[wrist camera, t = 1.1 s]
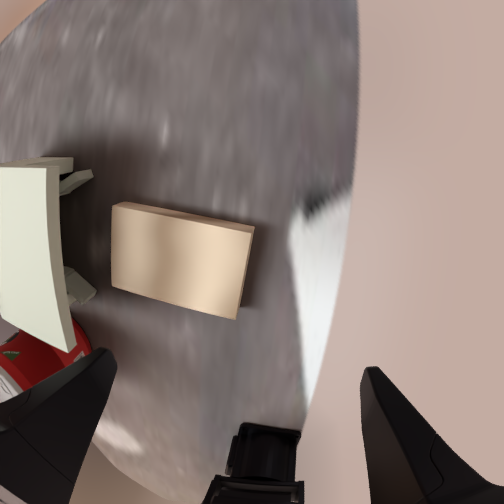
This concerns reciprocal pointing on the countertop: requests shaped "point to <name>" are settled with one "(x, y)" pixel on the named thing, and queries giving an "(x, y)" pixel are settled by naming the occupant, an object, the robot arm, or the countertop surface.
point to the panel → (180, 257)
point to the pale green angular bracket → (38, 250)
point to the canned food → (34, 360)
